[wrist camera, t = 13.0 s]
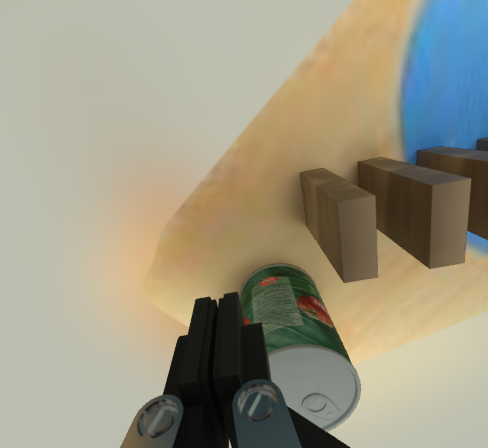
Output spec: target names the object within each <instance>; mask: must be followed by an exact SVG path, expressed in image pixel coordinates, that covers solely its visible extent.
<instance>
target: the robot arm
mask: <svg viewBox="0 0 488 448" xmlns="http://www.w3.org/2000/svg"><path fill="white" fill-rule="evenodd" d="M229 440H230V443H231V447H232V448H350V447H349V446H347V445H346V444H344V443H343V442H341V441H340V440H338V439H336V438H335V437H334V436H332V435H331V434H329V433H328V432H326V431H325V430H323V429H322V428H320V427H318V426H317V425H315V424H314V423H312V422H311V421H309V420H308V419H306V418H305V417H303V416H302V415H300V414H299V413H297V412H296V411H294V410H293V409H291V408H290V407H288V406H287V405H286V402H285V399H284V396H283V394H282V392H281V390H280V388H279V387H278V386H277V385H276V384H275V383H273V382H272V380H271V373H270V366H269V359H268V353H267V347H266V341H265V336H264V331H263V326H262V322H259V323H253V324H247V325H245V322H244V317H243V313H242V308H241V304H240V299H239V295H238V292H233V293H227V294H224V298H220V299H219V306H218V305H217V302H216V300H215V299H214V300H211V298H210V297H205V298H199V299H196V300H195V305H194V309H193V314H192V318H191V323H190V327H189V332H188V335H184V336H180V337H179V338H178V340H177V343H176V347H175V351H174V355H173V359H172V362H171V366H170V370H169V374H168V377H167V381H166V385H165V389H164V392H163V395H161V396H158V397H156V398H154V399H152V400H150V401H149V402H147V403H146V404H145V405H144V406H143V407H142V408H141V409H140V410H139V411H138V413H137V414H136V416H135V418H134V420H133V422H132V424H131V426H130V428H129V430H128V432H127V434H126V437H125V439H124V441H123V443H122V445H121V447H120V448H229Z"/></svg>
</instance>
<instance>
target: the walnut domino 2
mask: <svg viewBox="0 0 488 448" xmlns="http://www.w3.org/2000/svg"><path fill="white" fill-rule="evenodd" d="M358 169H359V187H360V188H362V189H364V190H365V191H367V192H369V193H371V194H373V195H375V201H376V228H377V229H378V230H379V231H381V232H382V233H383V234H385V235H386V236H387V237H389V238H390V239H391V240H392V241H394V242H395V243H396V244H398V245H399V246H400V247H402V248H403V249H404V250H406V251H407V252H408V253H409V254H411V255H412V256H413V257H415V258H416V259H417V260H419V261H420V262H421V263H423V264H424V265H425V266H426V267H428V268H429V269H431V268H437V267H443V266H449V265H455V264H461V263H464V262H465V250H466V237H467V225H468V213H469V201H470V189H471V178H466V177H462V176H458V175H454V174H450V173H446V172H441V171H437V170H433V169H429V168H425V167H420V166H416V165H412V164H408V163H404V162H399V161H395V160H391V159H387V158H383V157H380V158H375V159H370V160H364V161H359V162H358Z"/></svg>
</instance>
